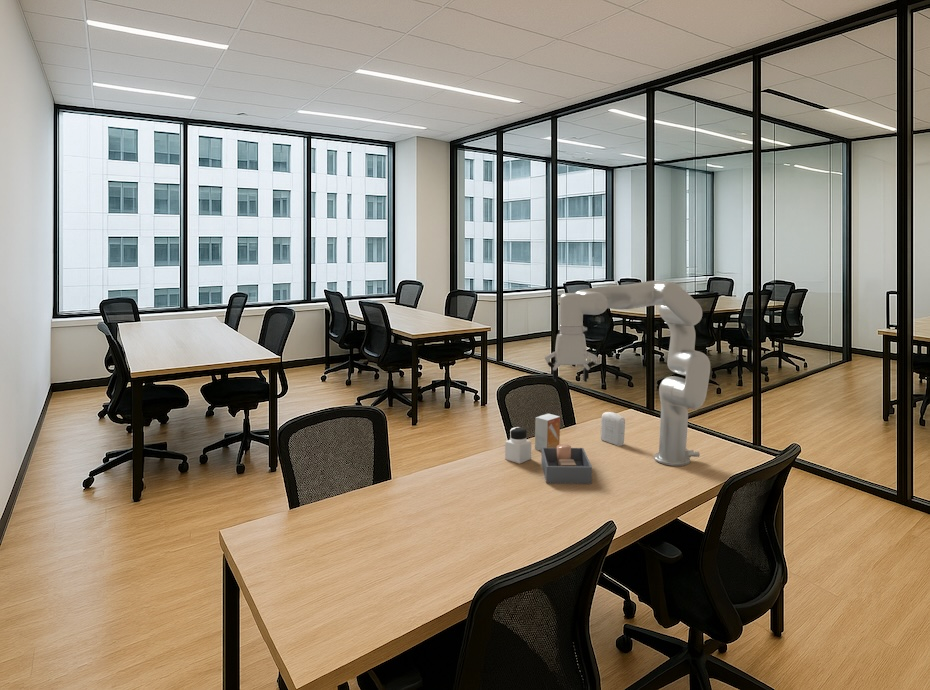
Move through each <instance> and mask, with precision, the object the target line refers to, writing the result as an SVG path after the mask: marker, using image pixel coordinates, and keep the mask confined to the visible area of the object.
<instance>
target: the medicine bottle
mask: <svg viewBox="0 0 930 690" xmlns="http://www.w3.org/2000/svg"><path fill="white" fill-rule="evenodd" d="M509 432H510V433H509V435H510V436H509V439H508V440H506V441H505V442H504V444H505V445H504V452H505V453H504V458H505V459H504V460H506V461H509V462H513V463H516V464H522V463H525V462H527V461H529V460H531V459H532V441H531V440H530V439H529V440H528V439H527V429H526V428H525V427H521V426H516V427H511V429H510V430H509Z"/></svg>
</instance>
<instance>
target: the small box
mask: <svg viewBox="0 0 930 690" xmlns="http://www.w3.org/2000/svg"><path fill="white" fill-rule="evenodd" d="M534 426H535V427H534V428H535V429H534V430H535V431H534V449H535V450H537V451H540V452H542V448H557V445H560V441H561V440H560V438H561V437H560V436H561V435H560V434H561V416H560V415H555V414H551V413H545V414H541V415H539V416H536V417H535V424H534Z"/></svg>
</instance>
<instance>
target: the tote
mask: <svg viewBox="0 0 930 690" xmlns="http://www.w3.org/2000/svg"><path fill="white" fill-rule="evenodd" d="M540 458H541V462H540V463H541V466H542V472H543V475H544V481H545V482H546V484H572V483H577V484H578V483H579V485H580V484H583V485H584V484H589V485H591V484H592V480H593V479H592V478H593V466H592V464H591V462H590V460H589V458H588V455H587V453H586V451H585V448H584V447H571V459H573V460H574V462H575V464H576V467H572V466H557V448H542V451H541V457H540Z"/></svg>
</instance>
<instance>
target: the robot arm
mask: <svg viewBox="0 0 930 690" xmlns="http://www.w3.org/2000/svg"><path fill="white" fill-rule="evenodd" d="M650 306H651V307H652V306H658V314H659V316H660V318H661V319H662V320H663V321H664V322H665V323H666V325H667V326H668V328H669V332H670V339H669V346H668V347H669V348H668V353H667V354H668V355H667V362H666V364H667V368H668V369H669V370H670V371H671V372H673V373H675V374H678V375H681V376H684V377H685V378H684V377H680V376H675V375H673V376H672V375H671V376H670V375H669V376H666V377H665V378H664V379H662V380H661V382H660V384H659V389H658V395H659V400H660V423H659V439H658V440H659V445H658V452H657V453H655V454H654V455H653V456H654V461H656V462H658V463H660V464H662V465H666V466H672V467H681V466H683V467H684V466H687V465H689V464H690V463H691V457H692V458H699V457H700V456H701V455H700V451H694V449H687V440H688V426H689V425H688V423H689V411H688V409H690V410H697V409H699V408H701V407H702V406H703V405H704V403H705V401H706V398H707V393H708V387H709V383H710V382H709V381H710V374H711V361H710V359H709V356H707V355H706V354H705V353H704V352H702V351H698V350H695V347H696V346H695V345H696V329H695V326H696V325H697V324H698V323H700V322H701V320H702V319H703V318H702V317H703V309H702V307H701V304H700V303H699V302H698V301H697V300H696V299H694V298H693V296H692V295H690V294H689V292H687V291H686V290H685V289H683V287H682V286H680V285H679V284H677V283H675V282H673V281H667V280H665V281H664V280H648V281H642V282H636V283H628V284H619V285H610V286H609V285H608V286H602V287H601V286H600V287H598V286H597V287H591V288H586V289H585V288H584V289H579V290H577V291H576V292H566V293H565V292H564V293H562V294H561V295H560V297H559V333H557V334H556V337H555V338H556V339H555V347H554V348H555V349H554V350H555V351H552V352H551V353H549V354H547V355H546V356H544V360H545V362H546V363H547V365H548V367H550V369H552V380H554V382H555V383H558V380H559V370H558V368H559V367H560V366H575V365H577V366H578V365H580V366H581V365H582V366H583V367H584V368H583V374H582V376H583V381H584V382H585V383H587V382H588V379H590V378H589V377H590V376H589V375H590V374H589V372H590V371H589V370H591V368H592V367H593V366H594V365H595V363H596V361H597V360H598V356H597V355H595V354H594V353H591V352H589V351H587V344H586V343H587V342H586V335H585V333H584V332H588V327H587V326H584V323H583V321H584V315H592V316H596V315H597V316H598V315H600V314H603V313H604V312H606V311H607V309H610V310H612V309H613V310H623V311H624V310H633V309H638V308H645V307H650ZM588 357H589V358H591V360H590V361H589V362H588V363H587V361H588V359H587V358H588ZM553 358H554V360H555V362H554V363H553V362H552V361H551V359H553Z"/></svg>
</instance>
